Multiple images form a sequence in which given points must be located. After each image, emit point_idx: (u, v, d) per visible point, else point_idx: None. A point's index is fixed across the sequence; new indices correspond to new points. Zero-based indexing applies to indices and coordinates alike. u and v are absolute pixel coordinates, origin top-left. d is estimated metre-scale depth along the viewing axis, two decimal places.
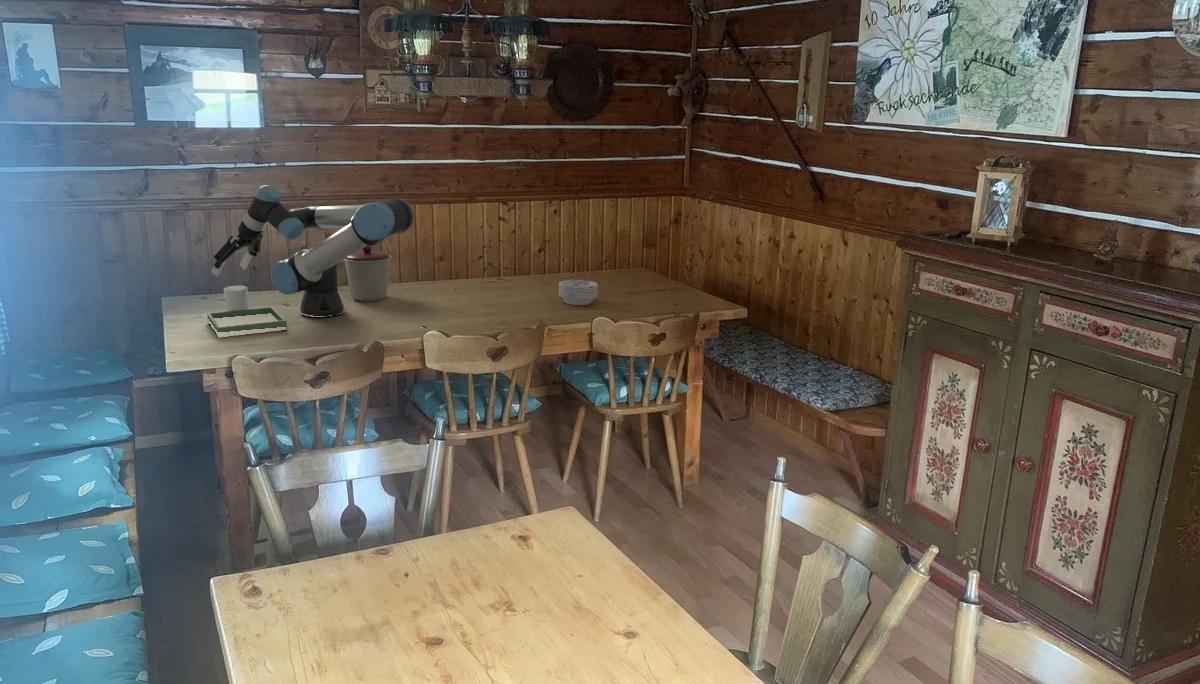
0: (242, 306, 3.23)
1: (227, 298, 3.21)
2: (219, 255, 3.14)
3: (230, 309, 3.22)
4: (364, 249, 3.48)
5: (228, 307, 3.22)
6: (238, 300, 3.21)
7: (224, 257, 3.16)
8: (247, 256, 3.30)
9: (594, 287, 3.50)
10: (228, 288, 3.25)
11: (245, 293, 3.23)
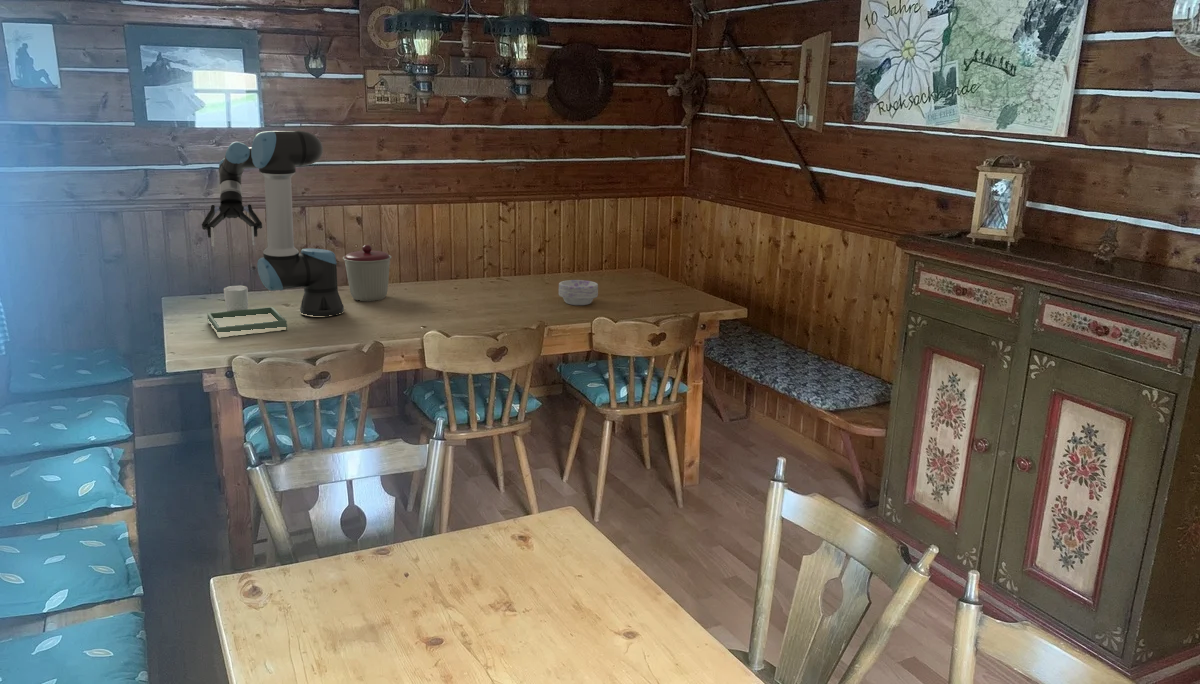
0: (242, 306, 3.23)
1: (227, 298, 3.21)
2: None
3: (230, 309, 3.22)
4: (364, 249, 3.48)
5: (228, 307, 3.22)
6: (238, 300, 3.21)
7: None
8: None
9: (594, 287, 3.50)
10: (228, 288, 3.25)
11: (245, 293, 3.23)
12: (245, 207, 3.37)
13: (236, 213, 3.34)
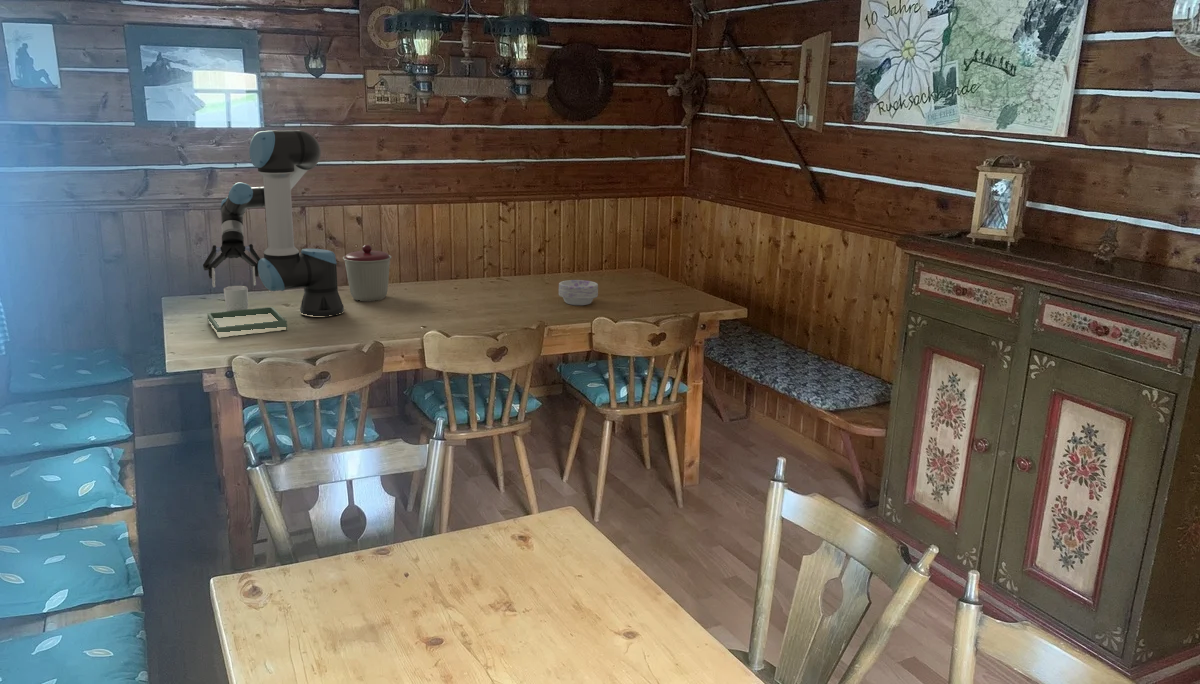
0: (242, 306, 3.23)
1: (227, 298, 3.21)
2: None
3: (230, 309, 3.22)
4: (364, 249, 3.48)
5: (228, 307, 3.22)
6: (238, 300, 3.21)
7: (211, 264, 3.29)
8: None
9: (594, 287, 3.50)
10: (228, 288, 3.25)
11: (245, 293, 3.23)
12: (246, 247, 3.37)
13: (237, 253, 3.34)
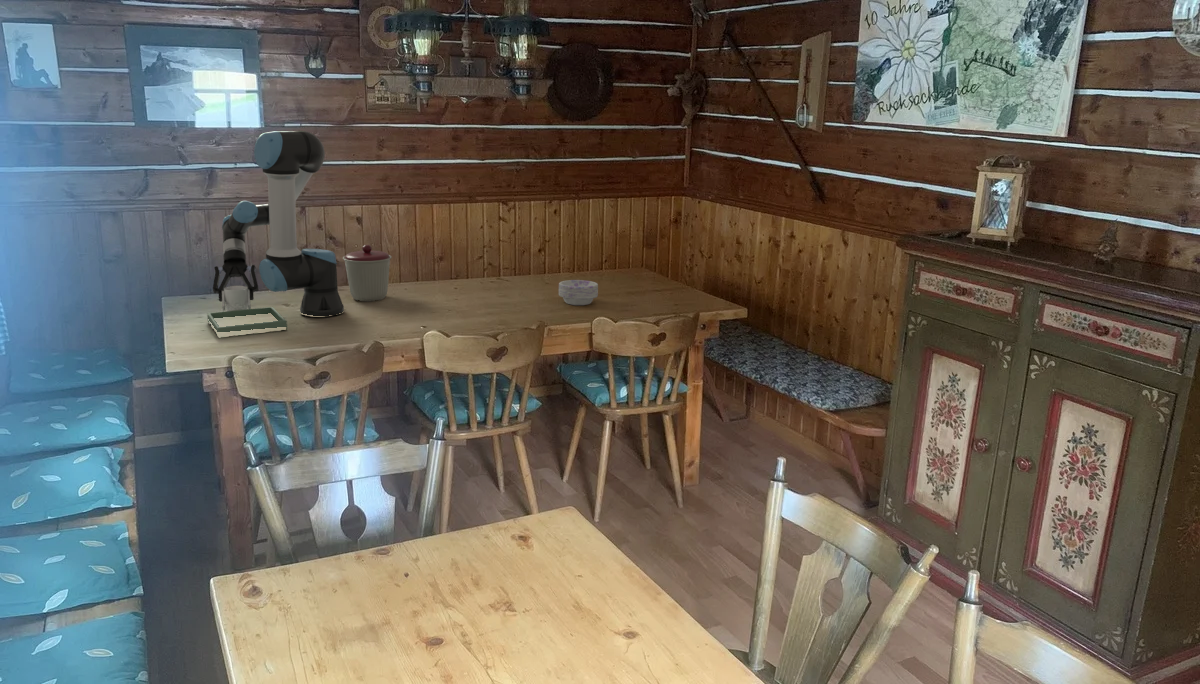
0: (242, 306, 3.23)
1: (227, 298, 3.21)
2: None
3: (230, 309, 3.22)
4: (364, 249, 3.48)
5: (228, 307, 3.22)
6: (238, 299, 3.21)
7: None
8: None
9: (594, 287, 3.50)
10: (228, 288, 3.25)
11: (245, 293, 3.23)
12: (249, 267, 3.31)
13: (239, 272, 3.28)
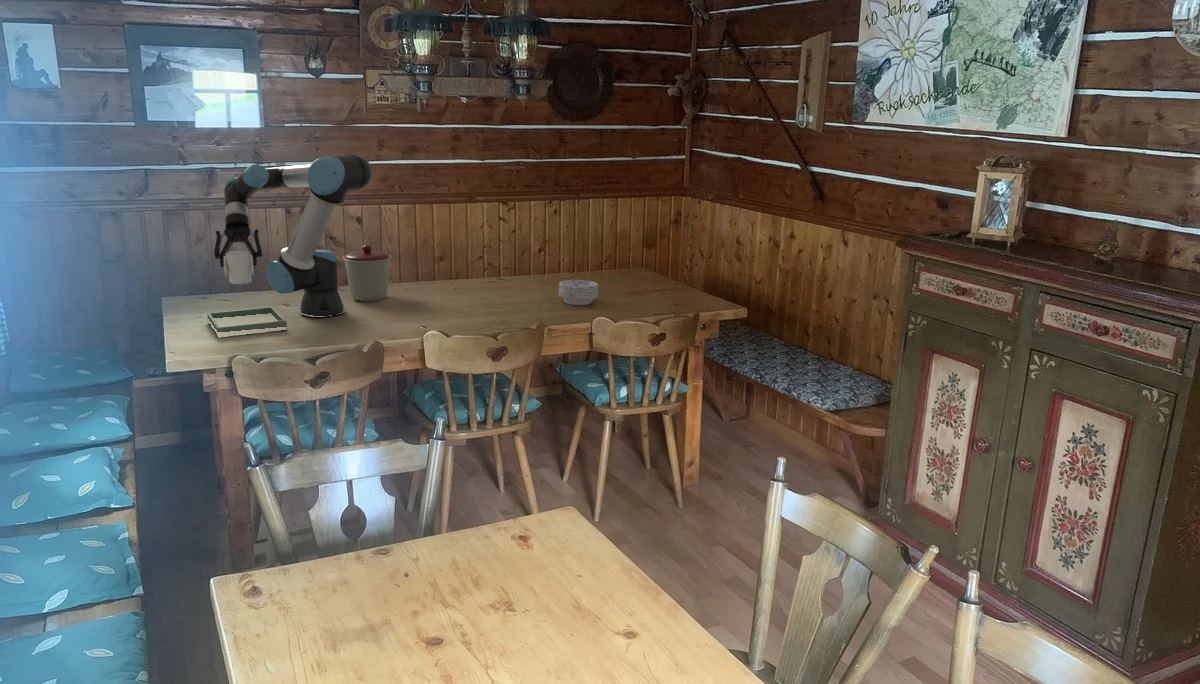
0: (245, 272, 3.06)
1: (229, 263, 3.05)
2: None
3: (232, 275, 3.06)
4: (364, 249, 3.48)
5: (230, 273, 3.06)
6: (240, 265, 3.05)
7: None
8: None
9: (594, 287, 3.50)
10: (230, 253, 3.09)
11: (248, 258, 3.07)
12: (252, 231, 3.14)
13: (242, 237, 3.12)
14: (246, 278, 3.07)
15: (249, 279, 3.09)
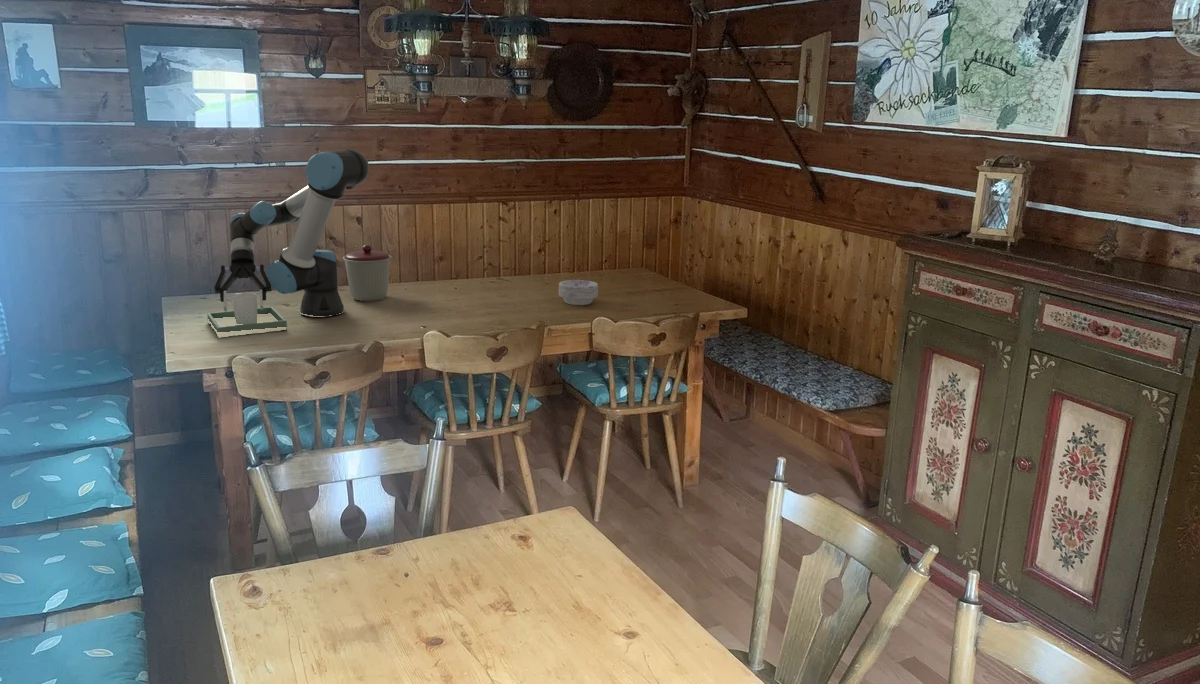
0: (251, 314, 3.09)
1: (235, 306, 3.07)
2: None
3: (239, 317, 3.08)
4: (364, 249, 3.48)
5: (237, 315, 3.08)
6: (247, 307, 3.07)
7: None
8: (260, 294, 3.11)
9: (594, 287, 3.50)
10: (237, 295, 3.11)
11: (254, 300, 3.09)
12: (257, 267, 3.16)
13: (247, 273, 3.13)
14: (252, 320, 3.10)
15: (255, 321, 3.11)
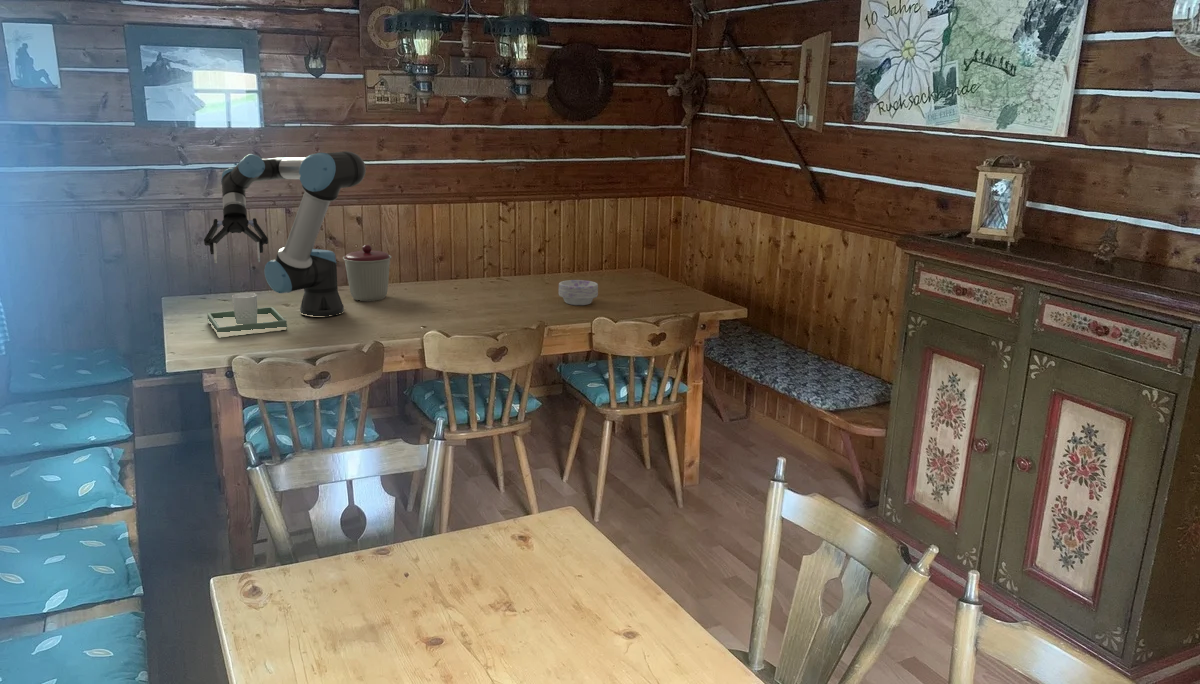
0: (251, 314, 3.09)
1: (236, 306, 3.07)
2: None
3: (239, 317, 3.08)
4: (364, 249, 3.48)
5: (237, 315, 3.08)
6: (247, 307, 3.07)
7: None
8: None
9: (594, 287, 3.50)
10: (237, 295, 3.11)
11: (254, 300, 3.09)
12: (250, 221, 3.17)
13: (240, 228, 3.14)
14: (252, 320, 3.10)
15: (255, 321, 3.11)
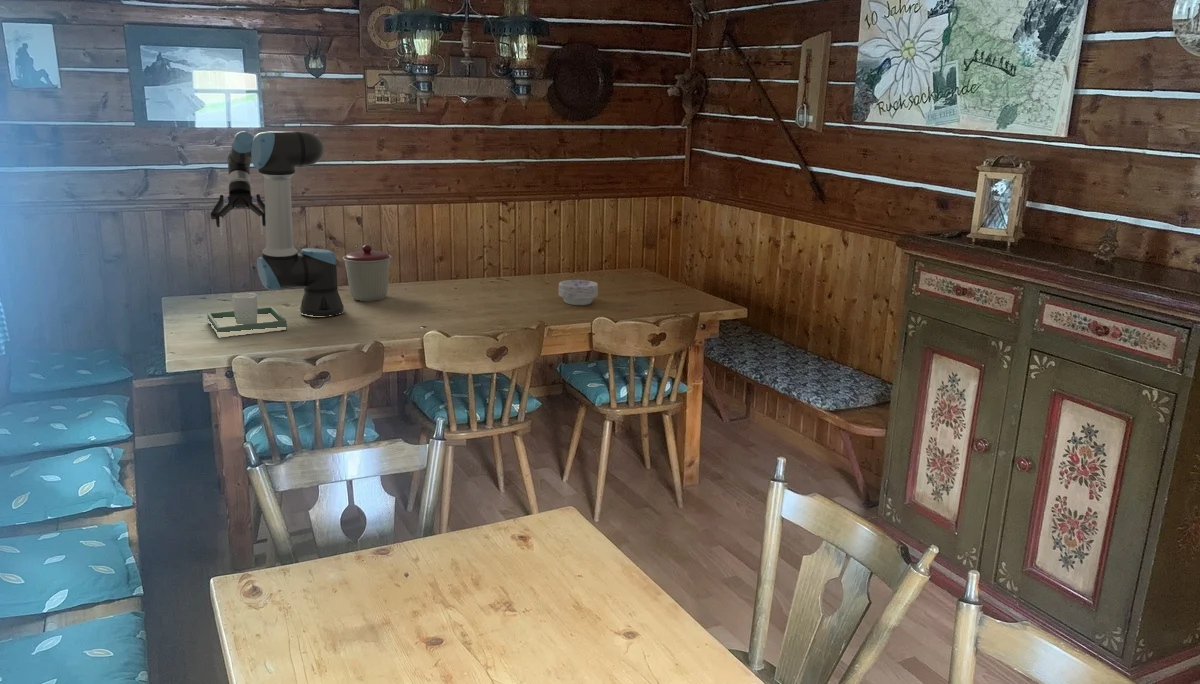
0: (251, 314, 3.09)
1: (236, 306, 3.07)
2: None
3: (239, 317, 3.08)
4: (364, 249, 3.48)
5: (237, 315, 3.08)
6: (247, 307, 3.07)
7: (218, 213, 3.30)
8: (260, 220, 3.34)
9: (594, 287, 3.50)
10: (237, 295, 3.11)
11: (254, 300, 3.09)
12: (254, 197, 3.38)
13: (245, 203, 3.35)
14: (252, 320, 3.10)
15: (255, 321, 3.11)
